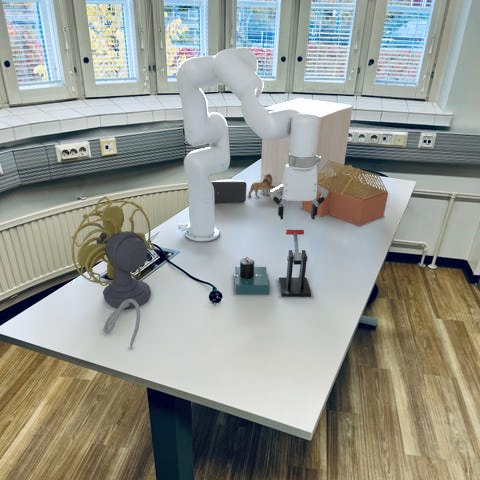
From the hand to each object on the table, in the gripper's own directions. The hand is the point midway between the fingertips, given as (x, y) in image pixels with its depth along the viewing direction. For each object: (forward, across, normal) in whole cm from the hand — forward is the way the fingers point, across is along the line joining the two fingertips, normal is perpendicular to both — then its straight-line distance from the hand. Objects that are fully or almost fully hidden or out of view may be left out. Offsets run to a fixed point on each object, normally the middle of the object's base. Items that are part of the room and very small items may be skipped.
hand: (297, 217), depth 141 cm
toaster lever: (+8, 0, +4) cm, 9 cm away
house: (+20, -29, -56) cm, 67 cm away
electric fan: (+20, +47, +21) cm, 55 cm away
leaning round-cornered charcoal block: (+19, +21, -66) cm, 72 cm away
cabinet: (+19, -17, -100) cm, 103 cm away
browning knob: (+17, +15, +6) cm, 23 cm away
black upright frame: (+20, 0, +8) cm, 22 cm away
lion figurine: (+20, +6, -76) cm, 79 cm away
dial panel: (+20, +14, +6) cm, 25 cm away
